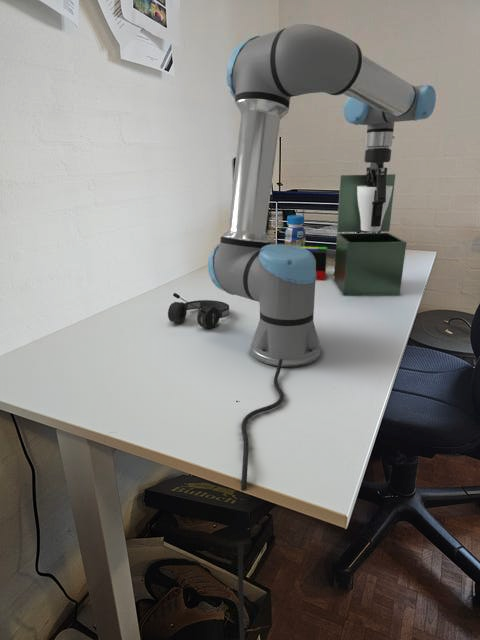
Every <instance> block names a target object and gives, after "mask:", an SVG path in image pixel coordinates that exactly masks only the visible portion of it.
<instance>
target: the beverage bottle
mask: <svg viewBox="0 0 480 640" xmlns="http://www.w3.org/2000/svg"><path fill="white" fill-rule="evenodd" d="M286 218H287V219H286V224H287V228H286V229H285V231H284V235H285V237H284V245H293V246H298V247H306V230H305V228H304V226H303V225H305V216H304V215H302V214H292V215H288V216H287V217H286Z"/></svg>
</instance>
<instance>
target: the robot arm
mask: <svg viewBox="0 0 480 640" xmlns="http://www.w3.org/2000/svg"><path fill="white" fill-rule="evenodd" d="M226 83H227V87H229V88H230V89H229V93H230V95H231V96H232V98H233V99H234V108H235V109H236V111H237V112H238V113H239V115H240V116H239V117H240V118H239V126H238V134H237V135H238V137H237V144H236V155H235V164H234V173H233V183H232V192H231V200H230V208H229V218H228V219H229V221H228V227H227V229H226V230H225V231H224V232H222V234H220V242H219V243H218V244H216V245H215V246H214V247H213V250H211V251H210V253H209V256H208V260H207V272H208V275H209V278H210V280H211V282H212V283H213V284H214V286H215V287H216V288H217V289H219V290H221V291H223V292H225V293H227V294H229V295H232V296H238V297H241V298H244V299H247V300H250V301H254V302H257V303H259V321H258V324H257V327H256V330H255V333H254V335H253V339H252V342H251V354H252V356H253V357H254V358H255V359H256V360H257V361H259V362H261V363H263V364H266V365H268V366H274V367H276V371H275V374H274V377H273V386H274V388H275V389H276V391H277V393H278V395H279V397H278V399H277V401H275V402H274V403H272V404H268V405H266V406H263V407H259V408H257V409H255V410H252V411H251V412H249V413H248V414H246V416H244V417H243V420H242V422H241V433H242V438H243V453H242V454H243V455H242V466H241V467H242V468H241V484H240V490H241V491H242V492H245V491H247V483H248V482H247V481H248V469H249V468H248V467H249V443H250V442H249V436H248V431H247V423H248V422H249V420H250V419H251V418H252V417H254V416H255V415H258V414H262V413H265V412H267V411H270V410H273V409H275V408H277V407H278V406H280V405H281V404H282V403H283V401H284V397H285V396H284V392H283V390H282V389H281V387H280V386H279V382H278V381H279V375H280V372H281V369H282V368H295V367H303V366H307V365H310V364H312V363H314V362H316V360H318V359H319V358H320V355H321V344H320V340H319V335H318V333H317V329H316V326H315V324H314V314H315V295H316V282H317V280H316V276H317V274H316V260H315V257H314V256H313V254H312V253H311V252H310V251H308V250H306V249H304V248H301V247H298V246H293V245H285V243H272V240H271V239H270V237H269V236H268V235H267V233H266V232H267V225H268V216H269V208H270V202H271V201H270V200H271V193H272V185H273V178H274V170H275V163H276V157H277V156H276V154H277V148H278V141H279V132H280V124H281V120H282V119H283V118H284V117H286V116H287V115H288V113H289V111H290V103H291V98H292V97H297V96H298V97H299V96H303V95H309V94H316V93H317V94H318V93H322V94H323V93H325V94H328V95H330V96H341V95H345V96H347V98H346V100H345V102H344V105H343V109H342V112H343V113H342V114H343V117H344V120H345V121H346V122H347V123H349V124H353V125H355V126H358V125H359V126H367V127H366V135H365V136H366V137H365V145H364V146H365V148H366V149H365V151H364V160H363V161H364V163H365V164H367V163H369V164H370V165H369V167H366V169H365V171H366V172H365V175H366V179H365V185H367V187H377V190H375V193H374V202H372V205H373V209H372V219H371V227H380V225H381V216H382V207H383V203H385V202H386V175H387V174H388V167H385V165H384V163H390V162H391V158H392V148H391V147H392V146H393V140H394V139H395V135H394V129H395V122H396V123H397V122H410V121H414V122H417V121H420V120H427V119H429V118H430V117H431V115H432V114H433V113H434V110H435V107H436V101H437V94H436V90H435V88H434V86H433V85H431V84H425V85H424V84H420V85H413V84H411V83H409V82H408V81H406V80H405V79H403V78H401V77H400V76H398V75H396V74H395V73H394V72H391V71H390V70H388V69H386V68H385V67H384V66H382V65H380V64H379V63H377V62H375V61H374V60H372V59H370V58H369V57H367V56H366V55H364V54H363V51H362V48H361V47H360V45H359V44H358V43H356V42H355V41H354V40H352V39H350V38H349V37H347V36H345V35H343V34H341V33H339V32H337V31H334V30H332V29H329V28H326V27H323V26H319V25H316V24H308V23H299V24H292V25H290V26H287V27H285V28H282V29H278V30H276V31H275V30H274V31H272V32H269V33H266V34H263V35H255V36H252V37H251V38H249V39H247V40H246V41H245V40H244V41H243V42H241V43H239V44H238V46H236V47H235V48H234V50H233V51H232V52H231V55H230V56H229V60H228V63H227V67H226ZM237 588H238V589H237V593H238V623H239V640H246V638H245V635H246V634H245V607H244V606H245V605H244V601H245V600H244V543H237Z"/></svg>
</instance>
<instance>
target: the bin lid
mask: <svg viewBox="0 0 480 640" xmlns="http://www.w3.org/2000/svg"><path fill="white" fill-rule="evenodd" d="M339 179H340V180H339V195H338V197H339V198H338V207H337V209H338V211H337V226H336V233H368V232H367V231H362V230H361V220H360V212H359V207H358V198H357V186H364V185H365V179H366V174H346V175H345V174H341V175H340V178H339ZM395 182H396V174H394V173H392V174H389V173H387V175H386V185H387V186H393V188H392V193H391V197H390V200H389V204H388V207H387V209H386V212H385V215H384V218H383V221H382V225H381V230H380V231H377V232H376V233H390V229H391V218H392V209H393V202H394V201H393V200H394V191H395Z"/></svg>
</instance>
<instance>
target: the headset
mask: <svg viewBox="0 0 480 640" xmlns="http://www.w3.org/2000/svg"><path fill="white" fill-rule="evenodd" d="M172 296H173V297H174V298H176V299H180V300H182V301H183V302H182V301H181V302H180V301H174V302H172V303H170V305H169V307H168V310H167V318H168V320H169V321H170V322H171V323H177V324H181V323H184V322H185V320H186V317H187V314H188V313H187V312H188V311H191V310H199V311H198V313H197V316H196V322H197V324H198V325H199V326H200V327H201V328H208V329H213V328H214V327H216V326H217V325H218V324H219V322H220V319H225V318H227V317H228V316H229V315H230V305H229V304H228V303H227V302H224V301H220V300H214V299H213V300H212V299H202V300H201V299H198V300H191V301H187V300H186V299H184V298H182V297H181V296H180V294H178V293H176V292H174V293H173V294H172Z"/></svg>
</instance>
